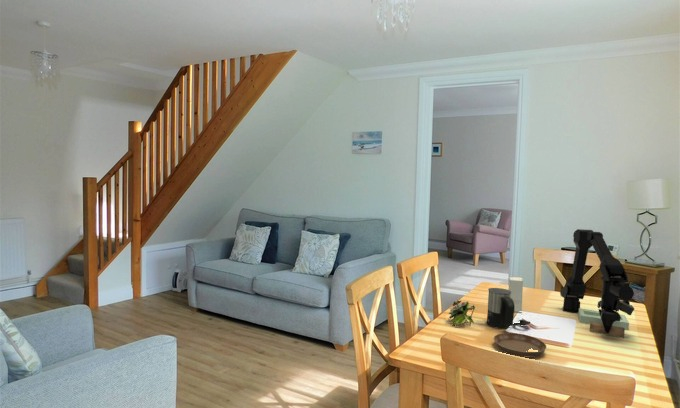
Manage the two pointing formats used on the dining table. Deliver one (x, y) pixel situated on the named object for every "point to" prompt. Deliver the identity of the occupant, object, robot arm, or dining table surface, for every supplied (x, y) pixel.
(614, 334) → the walnut peg
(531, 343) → the plant saucer
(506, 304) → the milk frother
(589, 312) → the sage cradle
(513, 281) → the skincare box
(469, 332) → the dining table surface
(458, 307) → the green leafy plant
